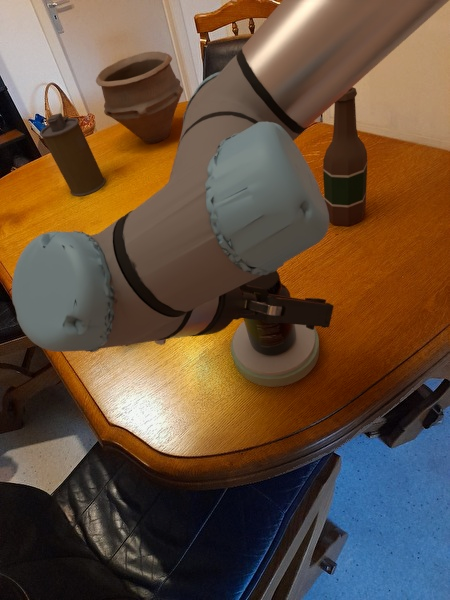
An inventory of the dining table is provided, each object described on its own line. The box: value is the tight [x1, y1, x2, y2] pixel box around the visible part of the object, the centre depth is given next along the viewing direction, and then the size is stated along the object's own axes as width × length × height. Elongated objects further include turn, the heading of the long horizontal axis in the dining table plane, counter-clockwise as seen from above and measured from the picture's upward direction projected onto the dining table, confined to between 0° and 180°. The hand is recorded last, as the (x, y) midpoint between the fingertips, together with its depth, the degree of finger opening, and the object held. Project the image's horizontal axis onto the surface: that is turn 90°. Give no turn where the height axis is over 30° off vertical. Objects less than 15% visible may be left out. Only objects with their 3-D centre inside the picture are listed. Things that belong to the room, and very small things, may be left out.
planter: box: [95, 51, 184, 144], centre depth 124 cm, size 25×24×22 cm
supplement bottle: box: [243, 271, 296, 356], centre depth 55 cm, size 7×7×12 cm
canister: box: [39, 112, 106, 197], centre depth 110 cm, size 11×10×20 cm
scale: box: [230, 320, 320, 388], centre depth 60 cm, size 13×13×3 cm
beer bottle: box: [322, 86, 368, 227], centre depth 73 cm, size 8×8×24 cm
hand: (273, 298), depth 56 cm, fingers open, 13 cm apart
